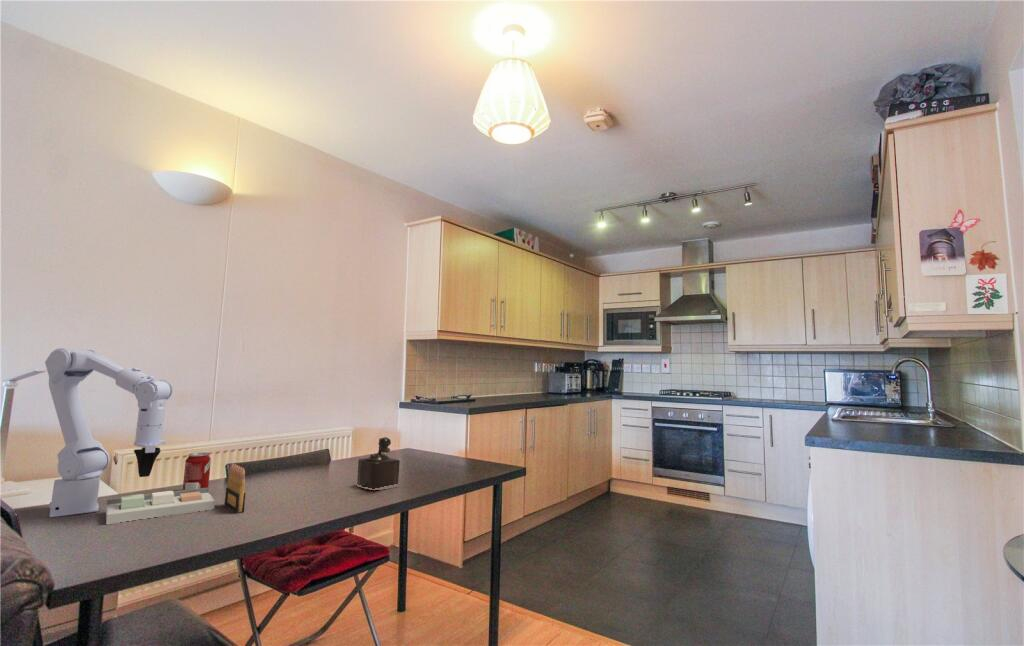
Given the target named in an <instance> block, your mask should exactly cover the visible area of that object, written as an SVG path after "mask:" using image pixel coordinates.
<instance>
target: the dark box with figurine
mask: <svg viewBox="0 0 1024 646" xmlns="http://www.w3.org/2000/svg"><path fill="white" fill-rule="evenodd" d="M391 443H392V441H391V439H390V438H388V437H385V436H384V437H380V438H379V439H378V451H377V453H374V454H370V456H368V457H365V458H364V457H363V458H358V462H357V463H358V465H357V480H356V481H357V482H356V483H357V484H358V485H361V486H362V487H368V488H372V489H375V488H380V487H384V486H389V485H394V484H398V485H399V475H400V462H401V461H400V459H396V458H392V457H389V456H388V455H387V454H388V453H390V452H391V448H390V447H389V446H390V445H391ZM384 453H387V454H384ZM357 484H356V485H357Z"/></svg>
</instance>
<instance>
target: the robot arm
mask: <svg viewBox="0 0 1024 646" xmlns="http://www.w3.org/2000/svg"><path fill="white" fill-rule="evenodd" d="M44 364H45V367H46V371H47V374H48V375H47V376H48V389H49V391H50V394H51V398H52V401H53V406H54V409H55V413H56V415H57V419H58V423H59V426H60V427H59V428H60V429H61V433H62V437H63V440H64V444H65V446H64V447H63V448H62V449H61V450H60V451H59V452H58V453H57V459H58V464H57V472H58V474H59V475H60V477H61V478H59V479H55V480H54V481H53V486H52V487H53V489H52V494H51V495H52V496H51V501H50V502H49V506H48V507H49V508H48V510H50V511H49V516H48V517H49V518H57V517H63V516H64V517H65V516H73V515H79V514H87V513H96V512H99V510H100V509H99V508H100V507H99V506H100V505H99V504H100V503H98V500H99V499H98V497H99V490H100V481H101V476H102V475H103V474H104V471H105V470H107V468H108V467H109V465H110V462H111V458H110V454H109V453H108V451H106V449H105V448H104V445H103V443H102V442H100V441H98V440H96V439H95V438H93V436H92V435H93V434H92V431H91V429H90V425H89V423H88V418H87V414H86V411H85V409H84V406H83V405H84V404H83V402H82V398H81V395H80V391H79V388H78V385H79V384H80V383H81V382H82V381H84V380H85V379H87V377H88V376H90V375H91V374H92V373H93V372H97V373H100V374H102V375H104V376H107V377H109V378H111V379H113V380H114V381H115V385H116V386H117V387H119V388H122V389H123V390H125V391H127V392H129V393H131V394H133V395H134V397H135V399H136V400H137V407H138V412H137V414H138V415H137V422H136V431H135V437H134V439H135V440H134V442H133V446H135V447H140V448H139V449H134V450H133V452H134V455H135V457H136V461H137V470H138V471H137V472H138V476H139V478H144V477H145V478H146V477H147V478H148V477H150V475H151V473H152V469H153V466H154V463H155V462H156V459H157V457H158V456H159V455H160V454H161V448H160V447H158V446H161V445H163V444H167V440H166V439H162V438H163V429H164V420H165V414H166V413H165V411H166V404H167V403H166V402H167V401H168V399H170V397H171V396H172V394H173V387H172V385H171V384H170V382H168V381H167V380H166V379H159V380H157V379H156V378H155V376H153V375H148V374H145V373H144V372H141V370H142V369H140V368H139V367H127V368H124V367H122V366H120V365H118V364H117V363H115V362H113V361H112V360H110V359H108V358H107V357H105V356H103V354H102V353H100V352H97V351H96V350H93V349H86V350H85V349H69V348H67V349H66V348H61V347H60V348H59V347H58V348H56V349H54V350H52V352H50V354H49V355H48V357H47V358H46V360H45V361H44Z"/></svg>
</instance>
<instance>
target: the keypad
mask: <svg viewBox="0 0 1024 646" xmlns="http://www.w3.org/2000/svg"><path fill="white" fill-rule="evenodd" d="M209 488H210V487H208V488H200V489H191V490H183V489H182V490H176V491H175V490H174V491H173V493H174V502H173V503H170V504H162V505H154V506H151V497H152V493H150V494H149V493H148V494H143V495H144V506H143V507H138V508H130V509H122V510H120V504H121V497H115V498H114V497H113V498H107V500H106V509H105V524H106V525H113V524H121V523H120V522H122V523H127V522H126V521H129V522H133V521H132V520H136V521H139V520H138V519H143V520H148V519H147V518H151V519H155V518H154V517H158V518H163V516H165V517H170V515H172V516H178V515H185V514H191V513H198V511H200V512H205V510H207V511H212V509H214V510H215V504H216V500H215V499H214V498H213V496H212V495H211V494H210V493H209ZM191 492H200V493H201V494H202V499H201V500H193V501H185V502H180V494H183V493H191Z"/></svg>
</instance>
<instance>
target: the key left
mask: <svg viewBox="0 0 1024 646" xmlns="http://www.w3.org/2000/svg"><path fill="white" fill-rule="evenodd" d="M144 495H145V494H144V493H141V494H140V493H138V494H131V495H130V494H129V495H122V496H121V497H120V498H121V504H120V510H122V509H130V508H138V507H143V506H144Z"/></svg>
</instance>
